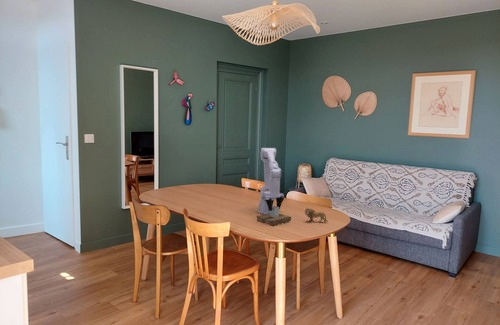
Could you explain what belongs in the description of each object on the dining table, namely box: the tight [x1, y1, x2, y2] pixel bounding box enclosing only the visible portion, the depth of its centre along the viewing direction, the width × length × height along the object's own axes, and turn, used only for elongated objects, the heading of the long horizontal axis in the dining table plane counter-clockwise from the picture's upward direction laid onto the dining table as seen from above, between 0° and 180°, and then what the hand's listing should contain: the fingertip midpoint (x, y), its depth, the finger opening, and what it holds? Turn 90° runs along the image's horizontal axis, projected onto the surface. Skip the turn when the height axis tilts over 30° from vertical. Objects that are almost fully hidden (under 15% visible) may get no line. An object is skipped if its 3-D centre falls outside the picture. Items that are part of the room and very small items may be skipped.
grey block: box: [270, 205, 280, 218], centre depth 228 cm, size 4×4×6 cm
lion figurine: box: [304, 207, 328, 224], centre depth 229 cm, size 15×5×9 cm, turn 93°
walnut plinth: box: [256, 213, 292, 227], centre depth 228 cm, size 14×16×3 cm
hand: (274, 209), depth 228 cm, fingers open, 7 cm apart
